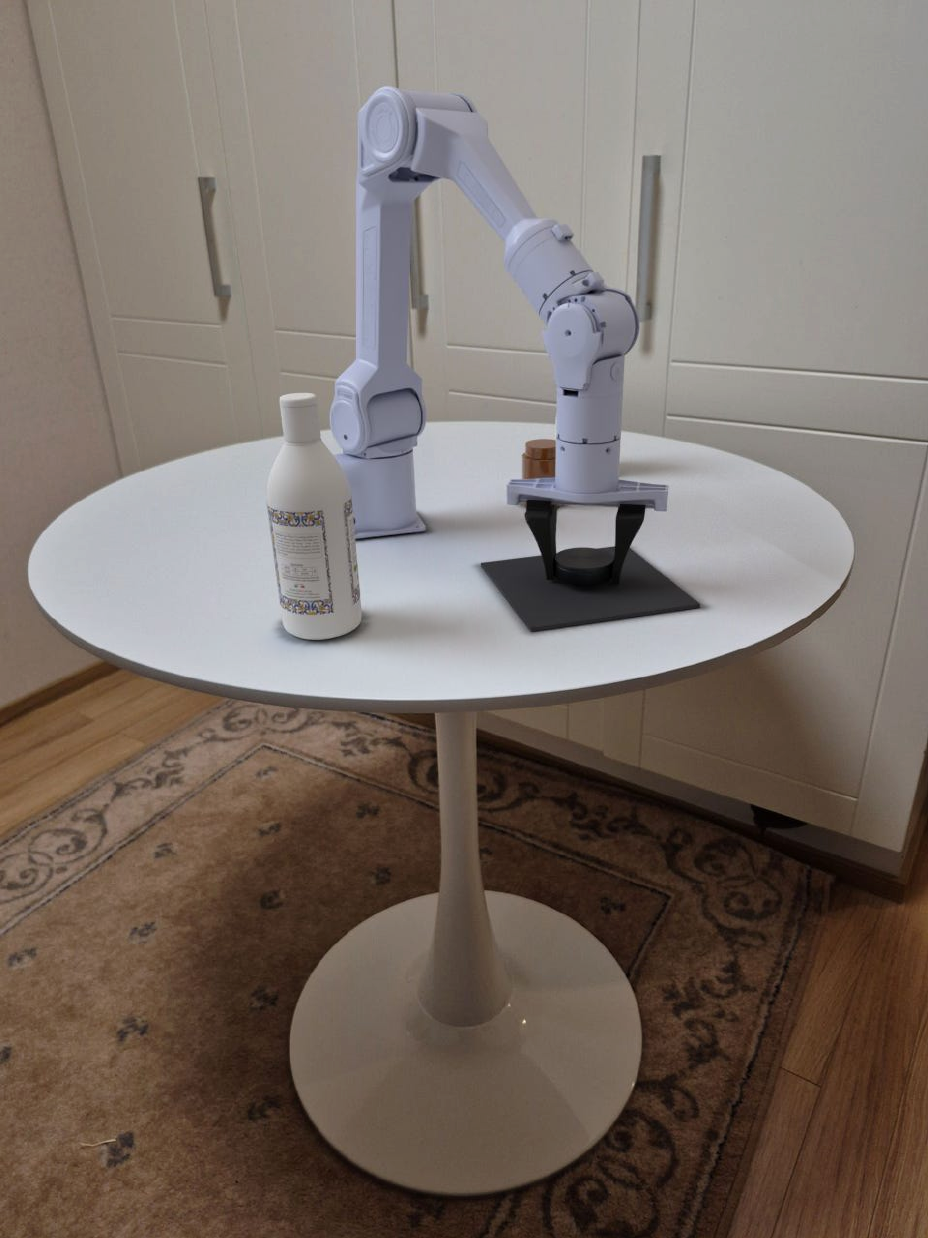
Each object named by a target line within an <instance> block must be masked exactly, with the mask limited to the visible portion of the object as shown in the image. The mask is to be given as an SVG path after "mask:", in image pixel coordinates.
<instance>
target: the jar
mask: <svg viewBox="0 0 928 1238" xmlns="http://www.w3.org/2000/svg"><path fill="white" fill-rule="evenodd" d="M555 465H556V440H555V439H548V438H541V439H539V438H538V439H532V440H528V441H526V442H525V443H524V452H523V453H522V454H521V479H539V478H555ZM521 505H522V506H524V507H526V503H521ZM561 506H562V505H558V506H557V508H560V507H561Z"/></svg>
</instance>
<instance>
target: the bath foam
mask: <svg viewBox="0 0 928 1238" xmlns="http://www.w3.org/2000/svg"><path fill="white" fill-rule="evenodd" d="M318 406H319V405H318V398H317V395H316V394H315V393H311V392H294V393H293V392H292V393H287V394H283V395H281V396H280V397H279V408H280V417H281V425H282V432H283V433H282V434H283V440H284V442H283V444H282V447H281V449H280V450H279V453H278V455H277V456H276V459H275V461H274V463H273V465H272V467H271V470H270V471H269V472H270V473H269V476H268V479H267V484H266V509H267V516H268V524H269V531H270V538H271V539H270V540H271V545H272V546H271V547H272V553H273V560H274V561H273V563H274V568H275V569H274V570H275V577H276V583H277V592H278V599H279V604H280V612H281V620H282V625H283V627H284V629H285V631H286V632H287V633H289V634H290V635H292V636H294V637H296V638H299V639H303V640H310V641H311V640H312V641H319V640H320V641H321V640H329V639H334V638H338V637H341V636H344V635H347V634H349V633H350V632H352V631H353V630H355V629H356V628H357V627H358V626H359V625H360V624H361V621H362V617H363V613H362V602H361V588H360V578H359V577H360V576H359V565H358V556H357V555H358V553H357V542H356V539H355V531H354V519H353V508H352V497H351V492H350V487H349V484H348V480H347V478H346V475H345V473H344V471H343V469H342V467H341V466H340V464H339V463H338V461H337V460H336V458H335V457H334V456H333V455H334V454H333V453H332V452H331V450H330V449H329V447H328V446H327V445H326V444H325V443H324V442H323V441H322V438H321V424H320V414H319V407H318Z"/></svg>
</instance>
